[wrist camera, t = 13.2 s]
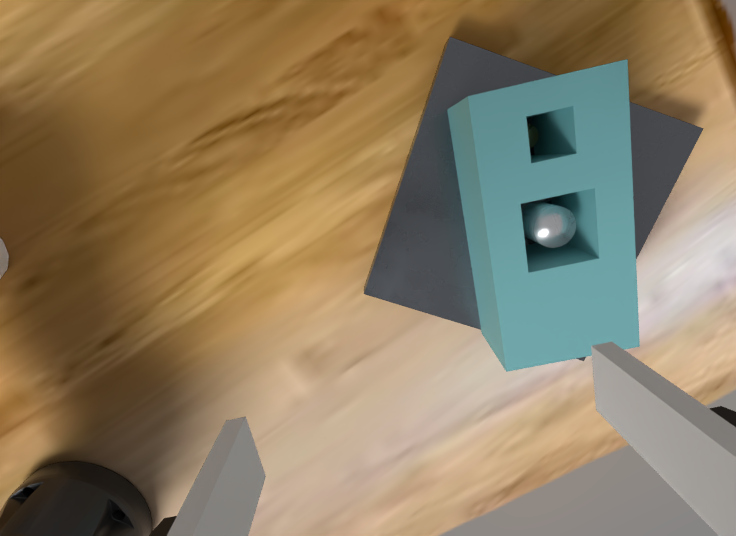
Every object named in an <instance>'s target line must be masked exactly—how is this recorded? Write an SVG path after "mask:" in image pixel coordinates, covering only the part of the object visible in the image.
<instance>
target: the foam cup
mask: <svg viewBox="0 0 736 536" xmlns="http://www.w3.org/2000/svg"><path fill="white" fill-rule="evenodd" d="M8 259H9V255H8V252H7V249H6V247H5V244H4V242H3V240H2V239H1V238H0V279H1V277H2V276H3V275H4V273H5V272H6V271H7V269H8Z"/></svg>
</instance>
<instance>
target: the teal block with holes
mask: <svg viewBox="0 0 736 536" xmlns="http://www.w3.org/2000/svg"><path fill="white" fill-rule="evenodd" d="M447 111H448V118H449V124H450V131H451V137H452V144H453V150H454V157H455V163H456V170H457V176H458V183H459V189H460V195H461V202H462V208H463V215H464V221H465V228H466V234H467V241H468V247H469V254H470V260H471V267H472V273H473V280H474V286H475V293H476V299H477V306H478V312H479V318H480V325H481V331H482V334H483V336H484V337H485V339H486V340H487V342H488V344H489V345H490V347H491V348H492V350H493V351H494V353H495V354H496V356H497V358H498V359H499V361H500V362H501V364H502V365H503V367H504V368H505V370H506V372H507V371H512V370H517V369H522V368H528V367H533V366H538V365H544V364H549V363H554V362H560V361H565V360H570V359H576V358H581V357H586V356H592V351H591V346H592V345H597V344H602V343H607V342H613V343H615V344H616V345H618V346H619V347H620V348H622V349H623V350H624V349H629V348H634V347H639V346H640V345H639V321H638V297H637V273H636V250H635V226H634V202H633V178H632V154H631V130H630V107H629V83H628V59H626V60H622V61H618V62H614V63H609V64H605V65H601V66H596V67H592V68H588V69H583V70H579V71H575V72H570V73H566V74H562V75H557V76H553V77H549V78H545V79H540V80H536V81H532V82H527V83H523V84H519V85H514V86H510V87H506V88H501V89H497V90H493V91H488V92H484V93H480V94H476V95H471V96H467V97H466V98H464V99H463V100H461V101H460V102H458V103H457V104H455V105H454V106H452V107H450V108H449V109H447ZM529 117H531V125H533V126H534V127H536V129H537V130H538V134H539V137H538V141H537V143H536V144H535V145H534V154H535V155H531V156H530V147H529V137H528V128H527V118H529ZM550 197H551V203H552V204H553V205H557V206H561V207H564V208H567V209H568V210H570V211H571V212H572V213H573V215H574V216H575V219H576V230H575V233H574V235H573V237H572V238H571V239H570V241H568V242H567V243H566V244H564V245H563V246H560V247H556V248H549V247H545V246H543V245H541V244H539V243H534V244H530V245H525V238H524V229H523V221H522V212H521V204H522V203H527V202H532V201H536V200H541V199H546V198H550Z"/></svg>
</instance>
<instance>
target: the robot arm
mask: <svg viewBox="0 0 736 536" xmlns="http://www.w3.org/2000/svg"><path fill="white" fill-rule="evenodd" d="M591 351H592V364H593V377H594V389H595V402H596V410H597V411H598V412H599V413H600V414H601V415H602V416H603V417H604V419H605V420H606V421H607V422H608V423H609V424H610V425H611V426H612V427H613V428H614V429H615V430H616V431H617V432H618V433H619V434H620V435H621V436H622V437H623V438H624V439H625V440H626V441H627V442H628V443H629V444H630V445H631V446H632V447H633V448H634V449H635V450H636V451H637V452H638V453H639V454H640V455H641V456H642V457H643V458H644V459H645V461H646V462H647V463H649V465H650V466H651V467H652V468H653V469H654V470H655V471H656V472H657V473H658V474H659V475H660V476H661V477H662V478H663V479H664V480H665V481H666V482H667V483H668V484H669V485H670V486H671V487H672V488H673V489H674V490H675V491H676V492H677V493H678V494H679V495H680V496H681V497H682V498H683V499H684V500H685V502H686V503H688V505H689V506H691V508H692V509H693V510H694V511H695V512H696V513H697V514H698V515H699V516H700V517H701V518H702V519H703V520H704V521H705V522H706V523H707V524H708V525H709V526H710V527H711V528H712V529H713V530H714V531H715V532H716V533H717V534H718V535H719V536H736V412H735V411H732V410H729V409H727V408H724V407H722V406H720V407H715V408H710V409H709V408H707V407H706V406H704V405H703V404H701V403H700V402H698V401H697V400H696V399H694V398H693V397H691V396H690V395H688V394H687V393H685V392H684V391H683V390H681V389H680V388H678V387H677V386H675V385H674V384H672V383H671V382H670V381H668V380H667V379H665V378H664V377H662V376H661V375H659V374H658V373H657V372H655V371H654V370H652V369H651V368H649V367H648V366H646V365H645V364H644V363H642V362H641V361H639V360H638V359H636V358H635V357H633V356H632V355H631V354H629V353H628V352H626V351H625V350H623V349H622V348H620V347H619V346H618V345H616V344H615V343H613V342H607V343H602V344H597V345H592V346H591ZM265 477H266V476H265V473H264V470H263V467H262V464H261V461H260V458H259V455H258V452H257V449H256V446H255V443H254V440H253V437H252V434H251V431H250V428H249V425H248V422H247V419H246V417H242V418H237V419H232V420H227V421H226V422H225V424H224V426H223V428H222V430H221V431H220V433H219V435H218V437H217V439H216V441H215V443H214V445H213V447H212V449H211V451H210V453H209V455H208V457H207V459H206V461H205V463H204V464H203V466H202V468H201V470H200V472H199V474H198V476H197V478H196V480H195V482H194V484H193V486H192V488H191V490H190V492H189V494H188V496H187V497H186V499H185V501H184V503H183V505H182V507H181V509H180V511H179V513H178V515H177V516H174V517H169V518H164V519H163V520H162V521H161V523H160V524H159V525H158V526H157V527H156V528H155V529H154V530H153V531H152V532H151V530H152V520H151V514H150V511H149V508H148V506H147V504H146V502H145V500H144V498H143V497H142V496H141V494H140V493H139V492H138V491H137V489H136V488H135V487H134V486H133V485H132V484H130V483H129V482H128V481H127V480H125V479H124V478H123V477H121V476H120V475H118V474H116V473H114V472H112V471H110V470H108V469H106V468H103V467H100V466H97V465H94V464H89V463H84V462H61V463H55V464H52V465H48V466H46V467H43V468H41V469H39V470H38V471H36V472H35V473H33V474H32V475H31V476H30V477H29V478H28V479H27V480H26V481H24V482H23V483H22V484H21V485H20V486H19V487H18V488H17V489H16V490H15V491H14V492H13V493H12V494H11V496H10V497H9V498H8V500H7V501H6V503H5V504H4V506H3V508H2V509H1V511H0V536H248V534H249V531H250V528H251V524H252V521H253V517H254V514H255V511H256V507H257V504H258V501H259V497H260V494H261V490H262V487H263V484H264V480H265Z"/></svg>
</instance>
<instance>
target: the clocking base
mask: <svg viewBox="0 0 736 536" xmlns="http://www.w3.org/2000/svg"><path fill="white" fill-rule="evenodd" d="M553 76H557V75H554V74H551V73H548V72H546V71H543V70H540V69H537V68H535V67H532V66H529V65H526V64H524V63H521V62H518V61H515V60H513V59H510V58H507V57H504V56H502V55H499V54H496V53H493V52H491V51H488V50H485V49H482V48H480V47H477V46H474V45H471V44H468V43H466V42H463V41H460V40H457V39H455V38H452V37H450V38H449V39H448V41H447V42H446V44H445V47H444V50H443V53H442V56H441V59H440V62H439V65H438V67H437V70H436V73H435V76H434V79H433V82H432V85H431V88H430V91H429V94H428V97H427V100H426V103H425V106H424V109H423V112H422V115H421V118H420V121H419V124H418V127H417V130H416V133H415V136H414V139H413V142H412V145H411V148H410V151H409V154H408V157H407V160H406V163H405V166H404V169H403V172H402V175H401V178H400V181H399V184H398V187H397V190H396V193H395V196H394V199H393V202H392V205H391V208H390V211H389V214H388V217H387V220H386V223H385V226H384V229H383V232H382V235H381V238H380V241H379V244H378V247H377V250H376V253H375V256H374V259H373V262H372V265H371V268H370V271H369V274H368V277H367V280H366V283H365V286H364V294H366V295H369V296H372V297H376V298H379V299H382V300H386V301H389V302H392V303H395V304H399V305H402V306H405V307H409V308H412V309H415V310H418V311H422V312H425V313H428V314H431V315H435V316H438V317H441V318H445V319H448V320H451V321H454V322H458V323H461V324H464V325H468V326H471V327H474V328H477V329H481V325H480V318H479V312H478V306H477V299H476V293H475V286H474V280H473V273H472V267H471V260H470V254H469V247H468V241H467V234H466V228H465V221H464V215H463V208H462V202H461V195H460V189H459V183H458V176H457V170H456V163H455V157H454V150H453V144H452V137H451V131H450V124H449V118H448V111H447V109H449V108H450V107H452V106H454V105H455V104H457V103H458V102H460V101H461V100H463V99H464V98H466V97H467V96H471V95H476V94H480V93H484V92H488V91H493V90H497V89H501V88H506V87H510V86H514V85H519V84H523V83H527V82H532V81H536V80H540V79H545V78H549V77H553ZM629 107H630V130H631V154H632V178H633V202H634V226H635V250H636V259H637V257H638V255H639V253H640V251H641V249H642V247H643V245H644V243H645V241H646V239H647V237H648V235H649V233H650V231H651V229H652V227H653V225H654V224H655V222H656V220H657V218H658V216H659V214H660V212H661V210H662V208H663V206H664V204H665V202H666V200H667V198H668V196H669V194H670V192H671V191H672V189H673V187H674V185H675V183H676V181H677V179H678V177H679V175H680V173H681V171H682V169H683V167H684V165H685V163H686V161H687V159H688V157H689V156H690V154H691V152H692V150H693V148H694V146H695V144H696V142H697V140H698V138H699V136H700V134H701V132H702V130H703V128H700V127H697V126H695V125H692V124H689V123H686V122H684V121H681V120H678V119H675V118H673V117H670V116H667V115H664V114H662V113H659V112H656V111H653V110H651V109H648V108H645V107H642V106H640V105H637V104H634V103H631V102H629ZM527 128H528V137H529V147H530V156H531V155H535V154H534V145H535V144H536V143H537V141H538V137H539V134H538V130H537V129H536V127H534V126H533V125H531V117H529V118H527ZM521 212H522V221H523V229H524V238H525V245H530V244H534V243H539V244H541V245H543V246H545V247H549V248H556V247H560V246H563V245H564V244H566V243H567V242H568V241H570V239H571V238H572V237H573V235H574V233H575V230H576V219H575V216H574V215H573V213H572V212H571V211H570V210H568V209H567V208H564V207H561V206H557V205H553V204H552V203H551V197H550V198H546V199H541V200H536V201H532V202H527V203H522V204H521ZM585 358H586V357H581V358H576V359H579V360H582V361H584V360H585Z"/></svg>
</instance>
